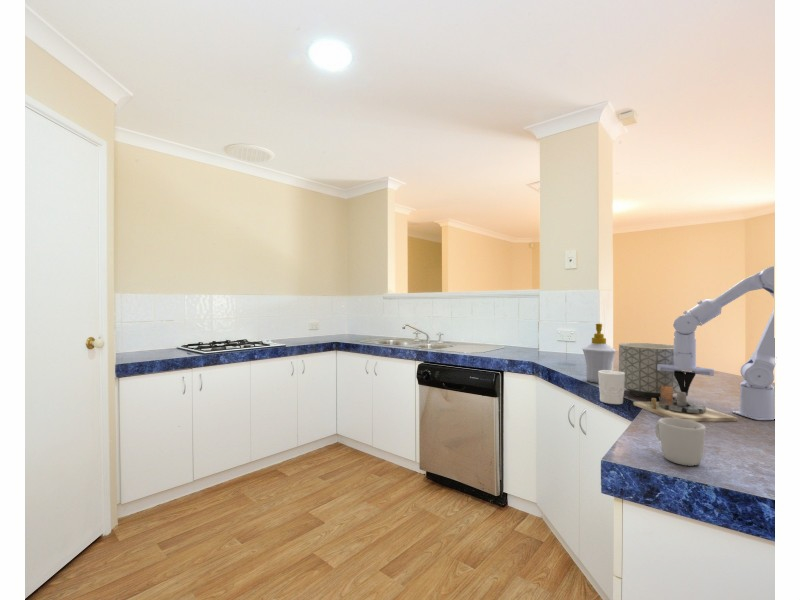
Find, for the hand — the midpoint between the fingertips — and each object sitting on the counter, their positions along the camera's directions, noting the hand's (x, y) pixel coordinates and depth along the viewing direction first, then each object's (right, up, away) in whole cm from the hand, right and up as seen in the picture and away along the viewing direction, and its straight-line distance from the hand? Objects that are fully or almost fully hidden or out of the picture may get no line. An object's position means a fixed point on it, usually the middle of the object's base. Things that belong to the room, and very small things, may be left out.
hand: (684, 395), depth 124 cm
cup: (-32, -3, -42) cm, 53 cm away
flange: (-5, -2, -4) cm, 7 cm away
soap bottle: (-7, -4, +40) cm, 41 cm away
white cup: (-20, -4, +6) cm, 21 cm away
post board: (-5, -4, -6) cm, 9 cm away
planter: (-2, -4, +15) cm, 16 cm away
